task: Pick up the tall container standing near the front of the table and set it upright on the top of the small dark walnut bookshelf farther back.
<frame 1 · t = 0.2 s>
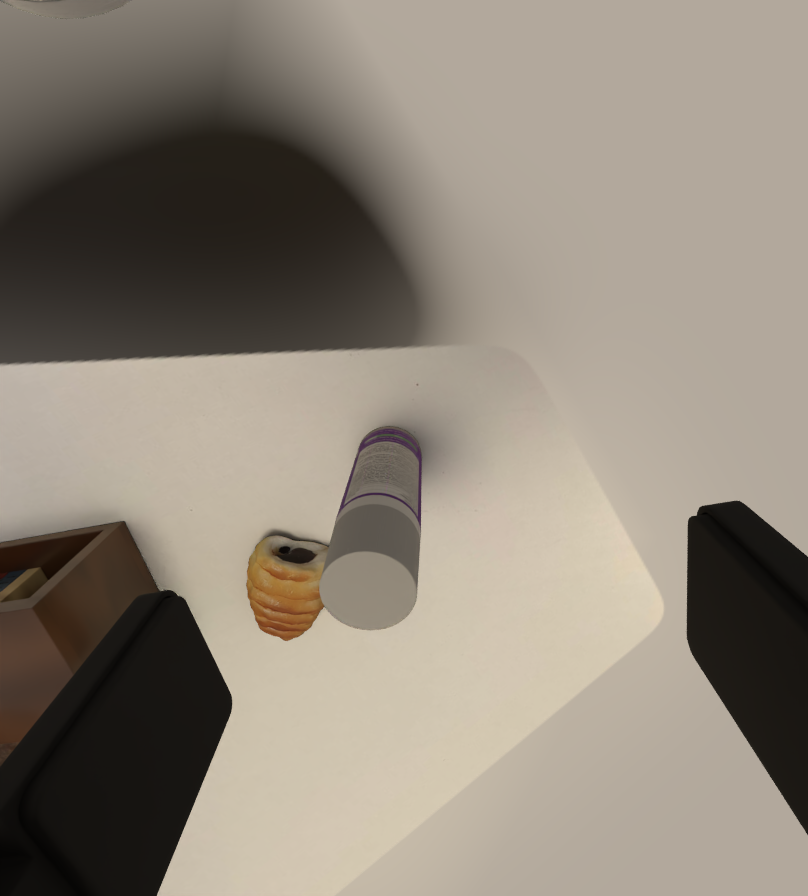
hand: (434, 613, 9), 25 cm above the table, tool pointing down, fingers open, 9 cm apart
container: (389, 455, 36), on the table
pastry: (295, 573, 41), on the table
shelf: (76, 588, 42), on the table
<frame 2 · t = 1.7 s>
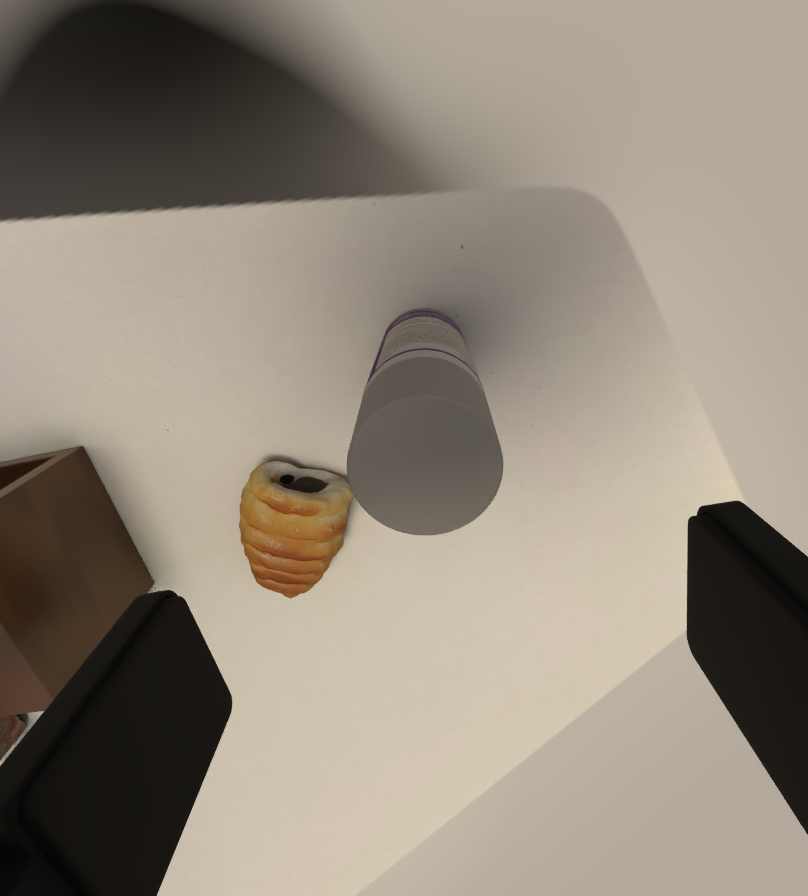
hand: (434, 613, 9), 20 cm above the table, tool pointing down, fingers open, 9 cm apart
container: (422, 350, 28), on the table
pastry: (301, 513, 32), on the table
shelf: (28, 536, 34), on the table
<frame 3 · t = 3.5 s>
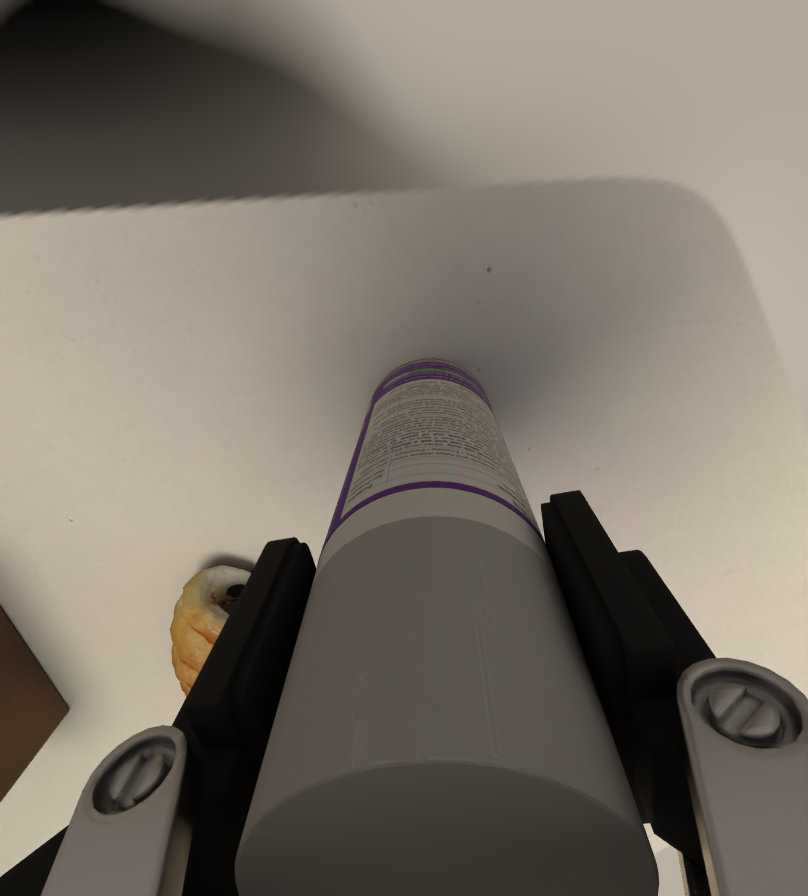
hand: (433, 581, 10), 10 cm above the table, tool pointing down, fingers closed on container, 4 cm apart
container: (429, 416, 19), on the table, touching gripper
pastry: (261, 627, 24), on the table
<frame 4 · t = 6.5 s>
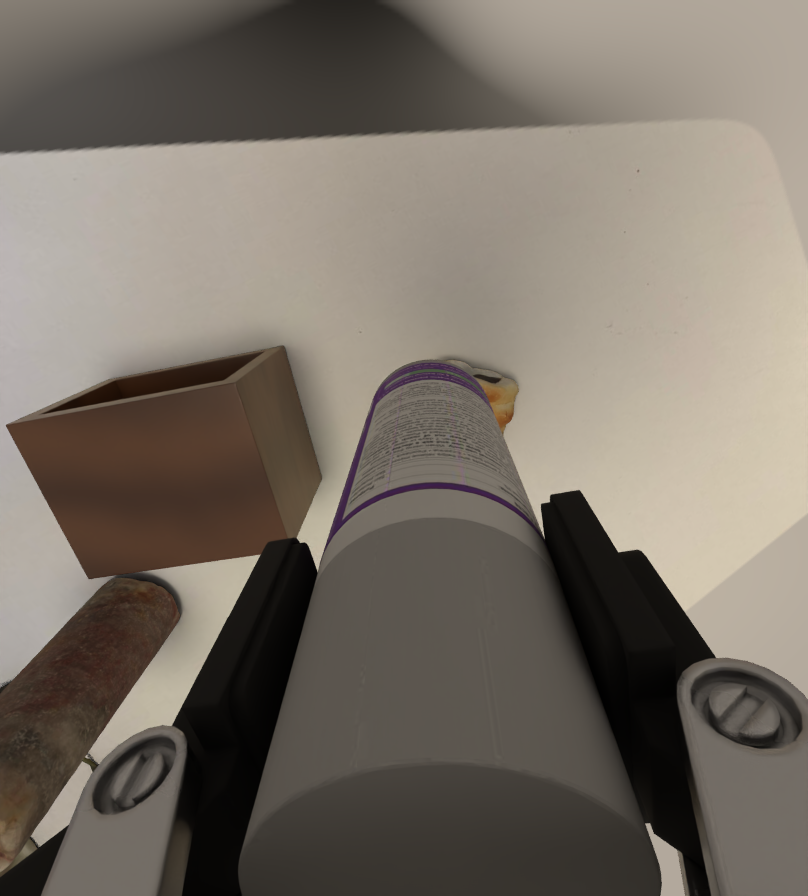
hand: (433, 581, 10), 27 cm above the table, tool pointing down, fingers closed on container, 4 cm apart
container: (430, 417, 19), point 17 cm above the table, touching gripper
pastry: (462, 412, 37), on the table
brown rounded bar: (142, 599, 46), on the table
shelf: (219, 430, 39), on the table
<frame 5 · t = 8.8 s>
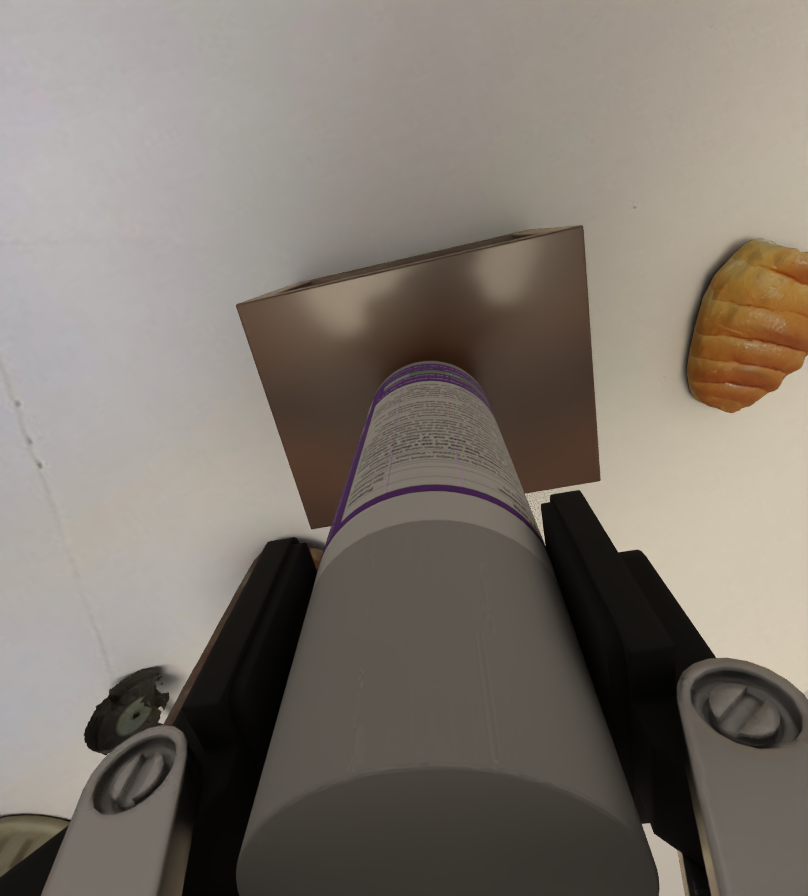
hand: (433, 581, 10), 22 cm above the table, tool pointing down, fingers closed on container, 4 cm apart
container: (429, 418, 19), point 12 cm above the table, touching gripper
pastry: (747, 317, 29), on the table
brown rounded bar: (299, 573, 38), on the table
artificial flower: (224, 747, 46), on the table
shelf: (427, 349, 30), on the table
dome: (58, 866, 55), on the table
when the fingers open (20 cm above the table, at t = 9.9 s): container stays where it is, resting on shelf.
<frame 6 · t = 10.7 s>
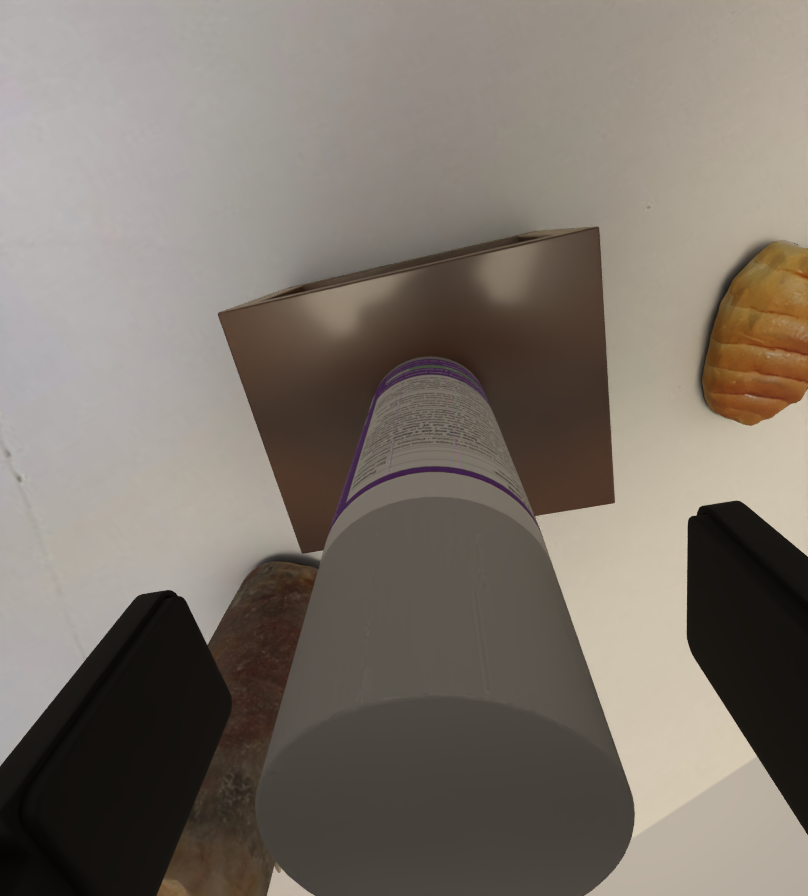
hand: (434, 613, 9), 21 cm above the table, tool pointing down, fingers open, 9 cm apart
container: (429, 412, 20), point 10 cm above the table, touching shelf
pastry: (767, 324, 27), on the table
brown rounded bar: (293, 590, 36), on the table
shelf: (427, 358, 29), on the table
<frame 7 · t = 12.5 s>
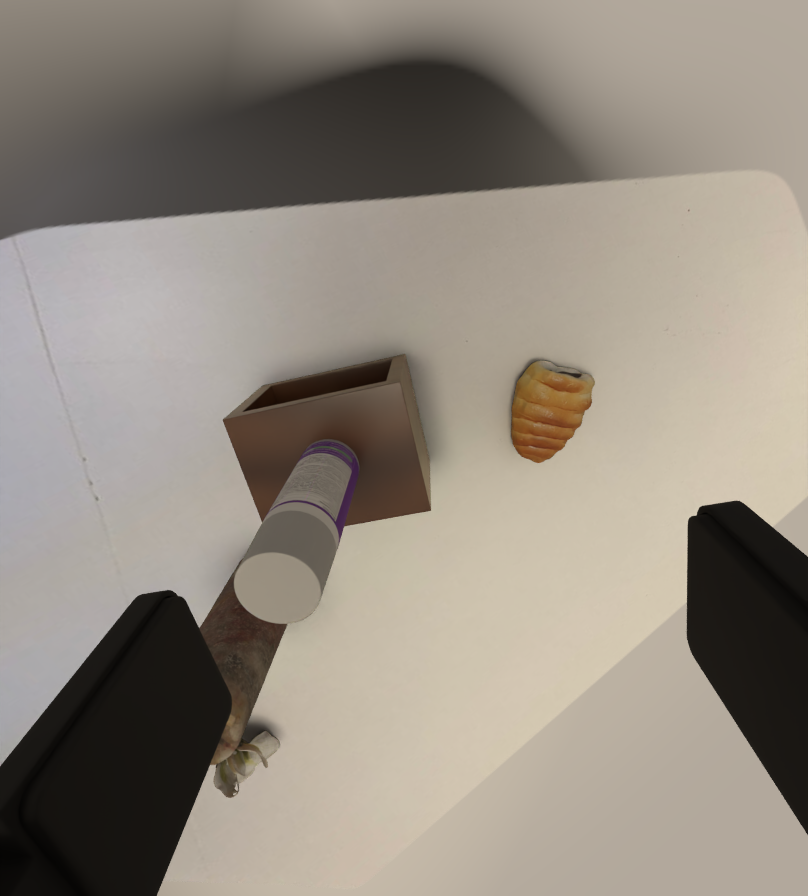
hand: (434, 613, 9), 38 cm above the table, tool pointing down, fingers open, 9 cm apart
container: (330, 465, 39), point 10 cm above the table, touching shelf
pastry: (546, 403, 46), on the table
brown rounded bar: (272, 569, 55), on the table
artificial flower: (222, 700, 63), on the table
shelf: (348, 424, 48), on the table
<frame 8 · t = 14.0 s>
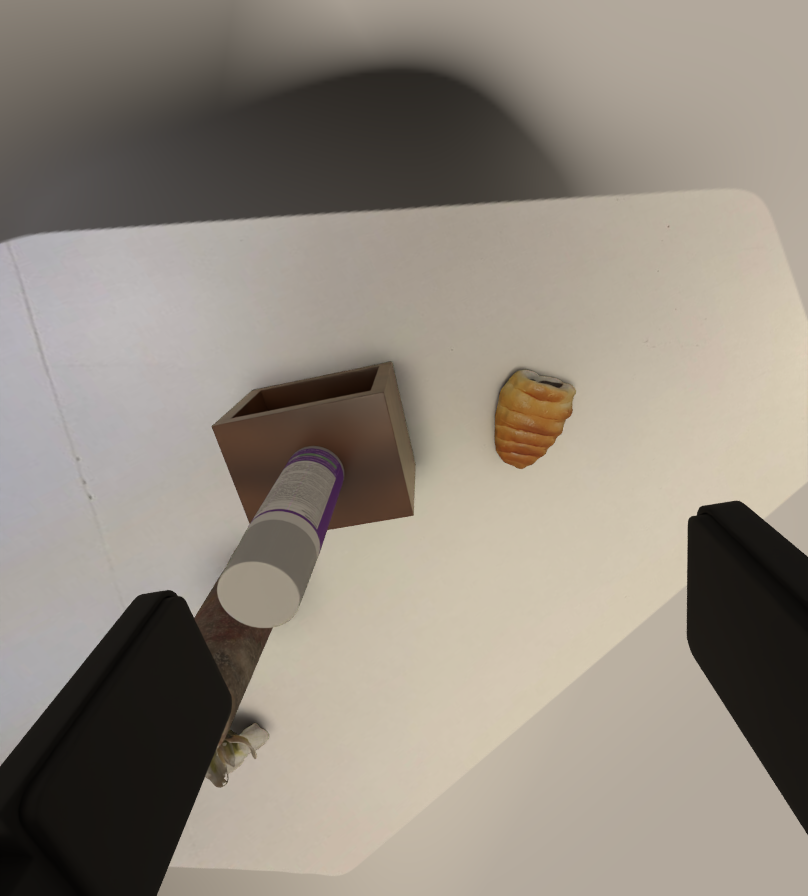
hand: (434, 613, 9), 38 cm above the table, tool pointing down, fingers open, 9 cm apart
container: (316, 471, 40), point 10 cm above the table, touching shelf
pastry: (529, 410, 48), on the table
brown rounded bar: (262, 567, 56), on the table
artificial flower: (213, 693, 65), on the table
shelf: (336, 428, 49), on the table
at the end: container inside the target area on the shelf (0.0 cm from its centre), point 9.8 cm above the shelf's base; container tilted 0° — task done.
